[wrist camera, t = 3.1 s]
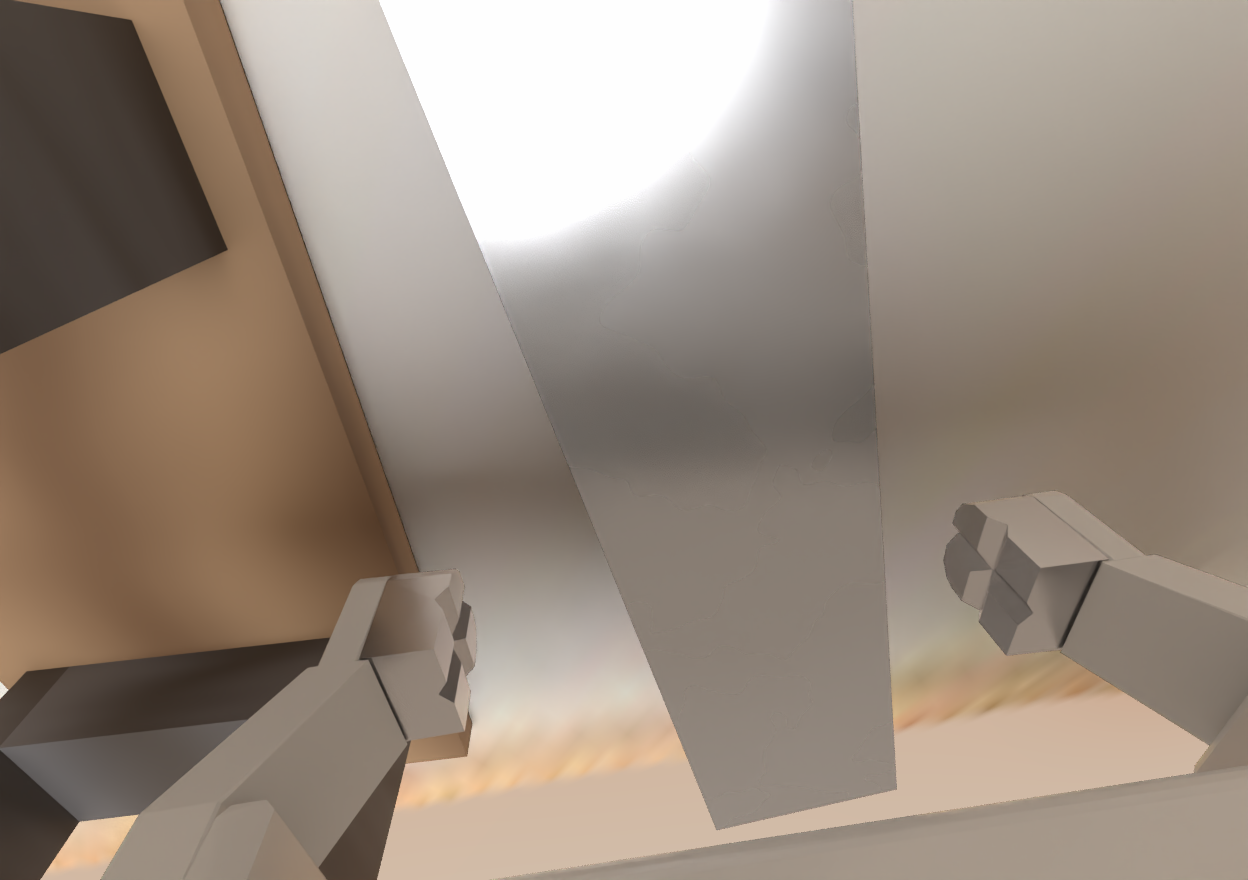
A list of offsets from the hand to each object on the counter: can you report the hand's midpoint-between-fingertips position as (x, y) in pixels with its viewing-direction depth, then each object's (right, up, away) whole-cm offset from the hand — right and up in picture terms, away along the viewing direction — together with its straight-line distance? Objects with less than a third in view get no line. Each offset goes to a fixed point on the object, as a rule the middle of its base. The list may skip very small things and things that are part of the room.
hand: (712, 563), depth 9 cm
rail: (0, +3, +4) cm, 4 cm away
